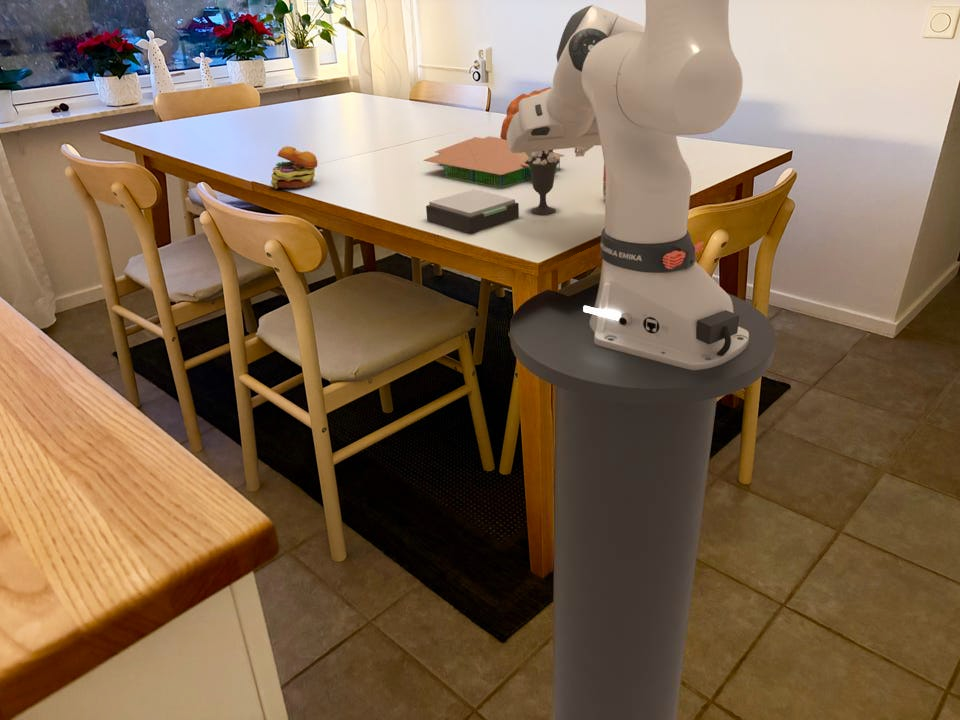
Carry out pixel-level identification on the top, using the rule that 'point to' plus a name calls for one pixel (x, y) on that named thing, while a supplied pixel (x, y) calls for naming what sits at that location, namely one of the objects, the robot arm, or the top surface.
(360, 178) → the top surface
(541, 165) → the sundae
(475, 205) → the scale
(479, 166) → the house
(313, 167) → the cheeseburger
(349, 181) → the top surface
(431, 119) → the top surface
